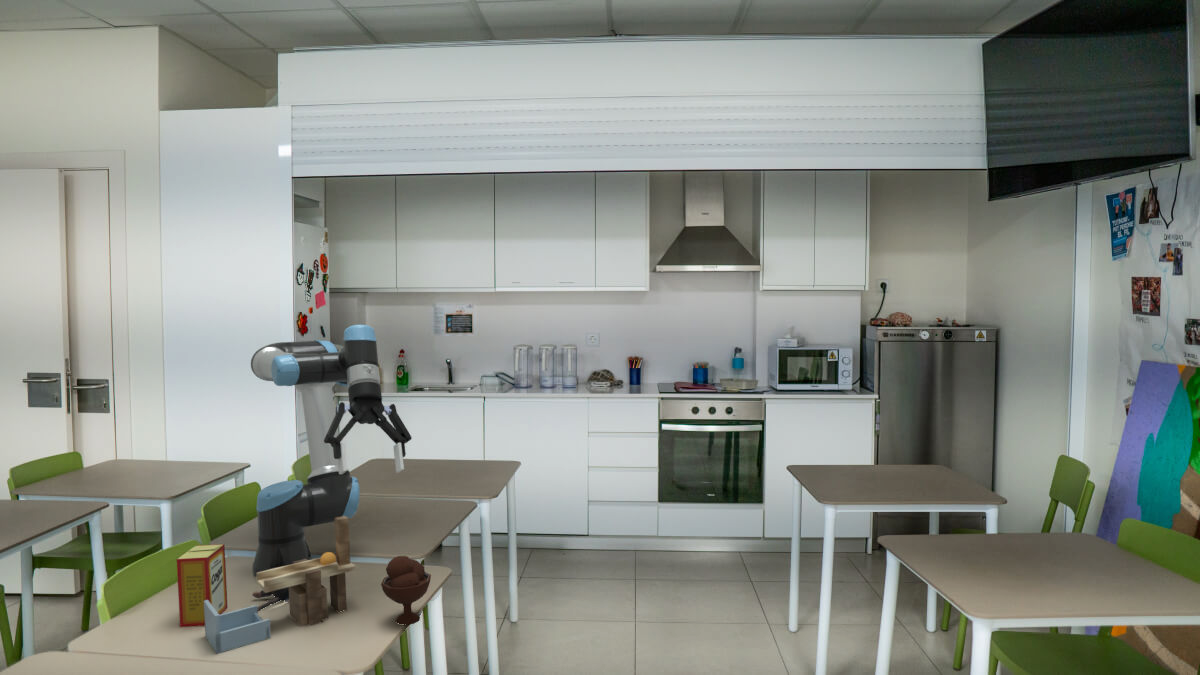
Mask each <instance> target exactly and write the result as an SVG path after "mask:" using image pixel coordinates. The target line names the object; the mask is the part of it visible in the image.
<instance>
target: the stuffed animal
mask: <svg viewBox="0 0 1200 675" xmlns="http://www.w3.org/2000/svg"><path fill="white" fill-rule="evenodd" d="M272 594H273V595H272ZM252 596H253V597H254V598H255V599H261V598H262V599H264V598H269V597H271V596H272V597H273V598H272V599H271V598H270V601H266V602H264V603H262V604H261V605H257V611H258V612H259V611H261V609H262V610H264V609H266V608H268V607H269V606H271V605H270V604H272V605H273V604H274V603H275V604H277V603H276V602H278V601H280V600H283V601H284V600H285V602H289V587H286V588H283V589H279V590H275V591H271V592H267V593H265V592H264V591H263V590H262V589H261V590H260V591H258V590H257V591H254V592H252ZM274 596H275V597H274ZM280 602H281V601H280ZM278 603H279V602H278ZM275 604H274V605H275ZM265 607H266V608H265ZM263 608H264V609H263Z"/></svg>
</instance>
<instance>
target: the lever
mask: <svg viewBox="0 0 1200 675" xmlns="http://www.w3.org/2000/svg"><path fill="white" fill-rule="evenodd" d="M349 522H350V521H349V519H348V517H346V516H342V517H337V518H335V522H334V533H335V534H334V536H335V537H334V538H335V556H336V562H335V563H331V564H327V565H323V566H322V564H321V562H320V559H321V556H320V557H316V558H312V559H311V560H307V561H303V562H299V563H295V564H290V565H286V566H282V567H278V568H274V569H269V570H265V571H261V572H257V573H256V576H255V577H256V579H255V580H256V585H257V586H258V587H259V588H260V589H261V591H262V590H263V591H264V592H265V593H267V592H271V591H275V590H279V589H283V588H286V587H290V586H294V585H298V584H302V583H306V572H310V571H314V570H318V569H320V570H321V579H324V578H328V577H329V578H330V576H333V575H337V574H341V573H345V574H346V573H349V572H352V571H355V570H356V565H355V564H354V563H352V562H351V552H350V550H351V548H350V528H349V526H350V524H349Z"/></svg>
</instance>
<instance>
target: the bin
mask: <svg viewBox="0 0 1200 675" xmlns="http://www.w3.org/2000/svg"><path fill="white" fill-rule="evenodd" d="M257 607H258V605H257V604H254V605H251V606H248V607H244V608H243V607H242V608H240V609H235V610H232V611H229V612H225V613H224V612H223V613H222V614H220V615H219V614H218V613H217V611H216V610H215V609H214V607H213V606H212V605H211V603H210V602H209V601H208V600H205V601H204V617H205V626H204V633H205V636H206V637H205V638H206V640H207V639H208V640H207V641H208V643H209V644H210V645H211V647H212V649H213V650H214V652H215V654H221V653H223V652H224V653H225V652H228V651H230V650H234V649H237V648H240V647H244V646H247V645H250V644H254V643H258V642H261V641H265V640H267V639H271V619H270V618H267V619H266V618H265V619H263V618H262V617H261V616H260V615H259V611H257Z"/></svg>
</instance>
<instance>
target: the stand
mask: <svg viewBox="0 0 1200 675" xmlns="http://www.w3.org/2000/svg"><path fill="white" fill-rule="evenodd" d="M303 561H307V559H303V560H299V561H295V562H293V564H295V563H299V562H303ZM346 579H347V578H346V572H345V573H341V574H337V575H333V576H329V595H330V607H331V606H332V607H333V608H332V607H331V608H332V609H333V610H335V611H336V610H337V611H338V612H339V613H341V612H340V611H342V612H344V611H343V610H346V609H347V610H348V608H347V604H348V602H347V580H346ZM327 589H328V588H326V587H325V586H324V585H323V584H322V578H321V570H320V569H318V570H314V571H310V572H306V583H302V584H298V585H294V586H290V587H289V603H288V604H289V605H288V606H289V616H290V617H291V618H292V619H293V620H294V621H295V622H296V623H297V624H298V625H299V626H300V627H303V626H307V625H308V626H309V627H311V626H314V625H317V623H318V624H320V623H319V622H321V623H323V622H324V620H327V619H326V618H328V616H329V614H328V594H327V593H328V590H327ZM347 610H346V611H347ZM337 611H336V612H337ZM338 612H337V613H338ZM323 619H324V620H323ZM328 619H329V618H328Z"/></svg>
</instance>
